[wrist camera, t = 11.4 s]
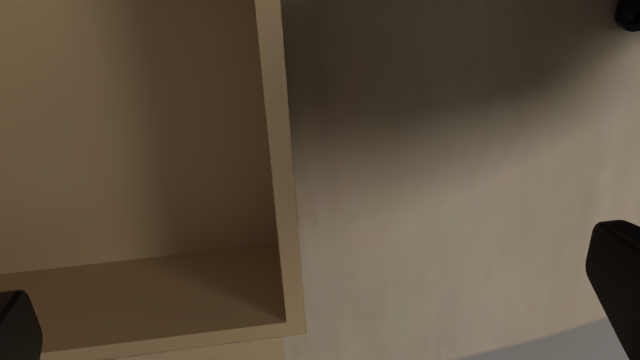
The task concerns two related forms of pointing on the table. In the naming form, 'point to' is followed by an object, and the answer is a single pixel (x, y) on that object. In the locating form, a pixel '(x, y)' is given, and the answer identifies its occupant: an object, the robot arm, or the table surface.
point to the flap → (225, 352)
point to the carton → (148, 174)
